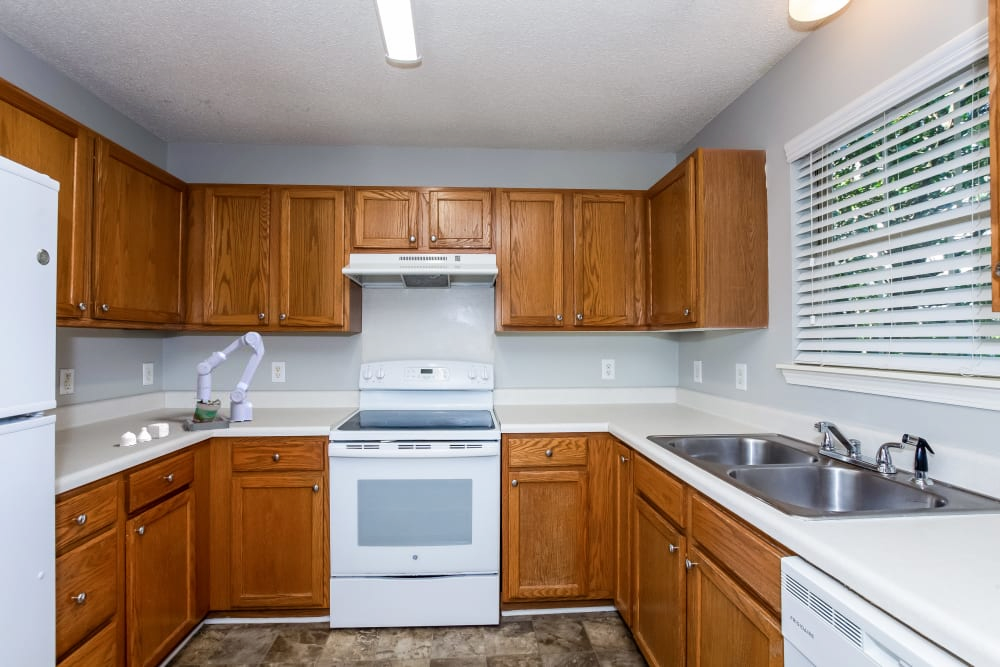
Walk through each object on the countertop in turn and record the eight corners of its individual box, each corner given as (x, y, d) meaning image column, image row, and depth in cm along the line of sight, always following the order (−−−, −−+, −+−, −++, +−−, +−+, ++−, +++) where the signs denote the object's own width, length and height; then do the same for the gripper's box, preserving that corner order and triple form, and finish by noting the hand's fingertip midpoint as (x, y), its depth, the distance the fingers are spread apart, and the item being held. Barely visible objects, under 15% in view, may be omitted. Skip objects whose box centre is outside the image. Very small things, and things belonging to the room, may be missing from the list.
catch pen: (223, 422, 229) (223, 416, 229) (229, 427, 216) (229, 421, 216) (186, 425, 220) (186, 419, 220) (189, 431, 207) (189, 424, 207)
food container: (199, 428, 219) (207, 408, 218) (189, 421, 220) (196, 402, 219) (221, 422, 231) (228, 404, 230) (211, 416, 232) (218, 398, 231)
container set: (156, 436, 198) (156, 423, 198) (168, 436, 198) (168, 423, 198) (115, 447, 178) (115, 432, 178) (128, 447, 178) (129, 432, 178)
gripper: (192, 386, 232) (192, 414, 232) (195, 389, 220) (194, 419, 220) (209, 386, 236) (209, 413, 236) (213, 388, 225) (212, 417, 224)
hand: (203, 416), depth 228 cm, fingers closed
